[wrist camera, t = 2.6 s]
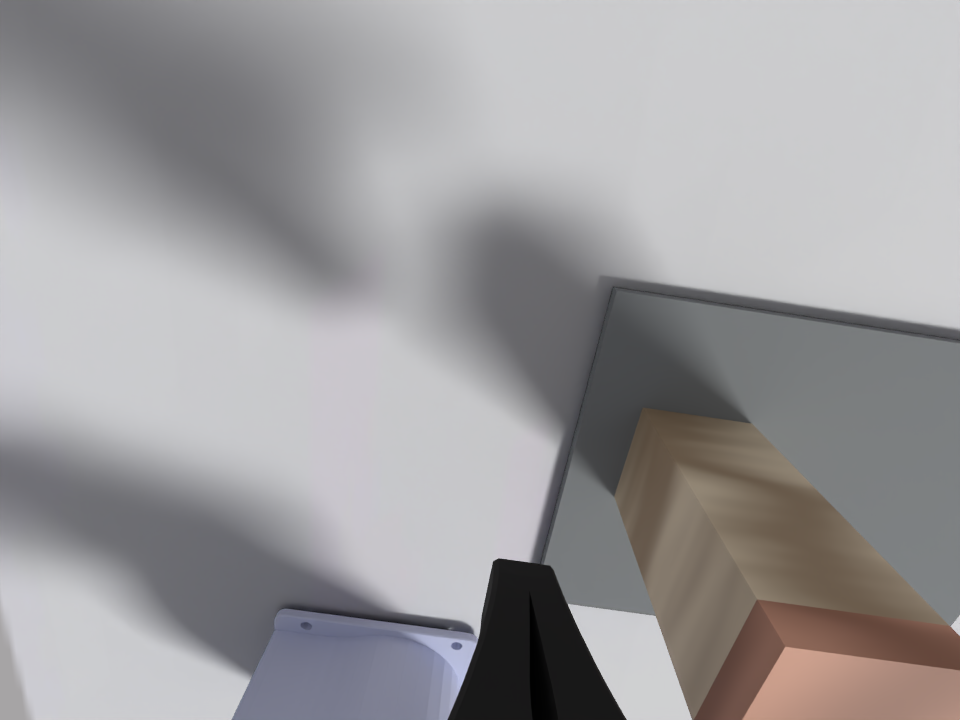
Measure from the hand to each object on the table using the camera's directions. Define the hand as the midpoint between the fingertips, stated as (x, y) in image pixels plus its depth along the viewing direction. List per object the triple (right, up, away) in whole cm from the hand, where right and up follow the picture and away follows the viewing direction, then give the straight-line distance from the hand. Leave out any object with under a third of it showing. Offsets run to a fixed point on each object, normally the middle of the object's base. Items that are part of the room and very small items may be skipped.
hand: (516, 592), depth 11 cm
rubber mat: (+11, 0, +8) cm, 14 cm away
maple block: (+7, +2, +7) cm, 9 cm away
